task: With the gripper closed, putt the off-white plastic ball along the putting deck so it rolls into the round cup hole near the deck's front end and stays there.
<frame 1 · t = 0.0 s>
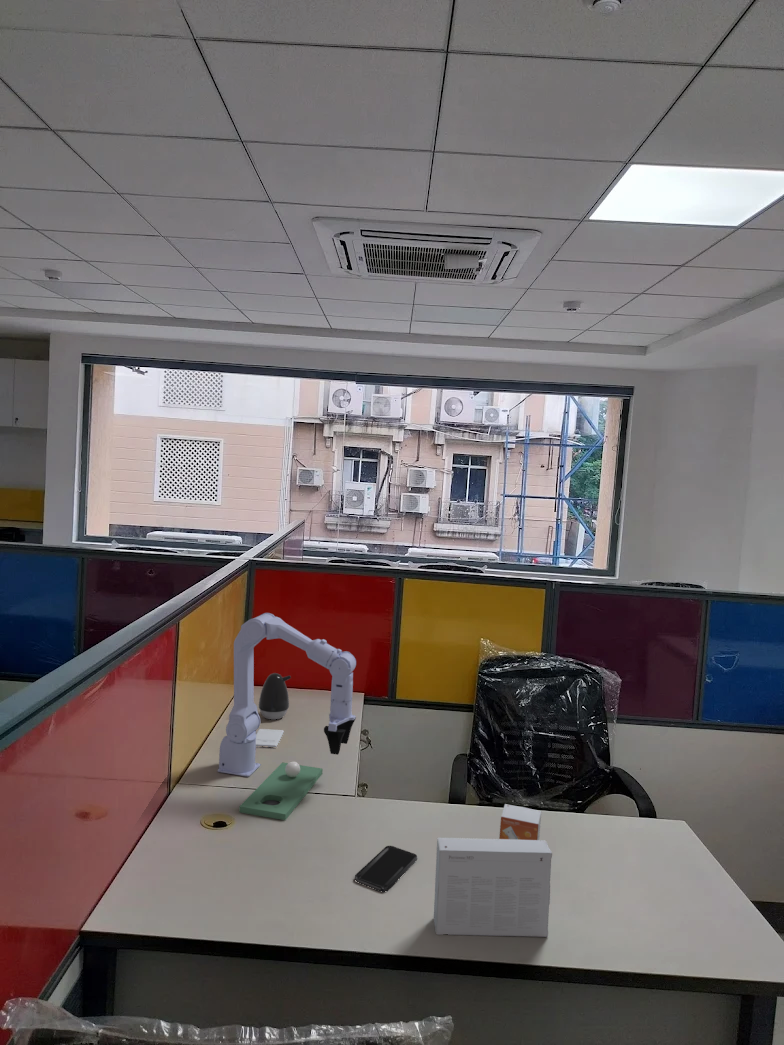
hand: (339, 748, 180), 10 cm above the table, tool pointing down, fingers open, 7 cm apart
pump dispenser: (273, 717, 228), on the table
ball: (292, 769, 180), point 3 cm above the table, touching putting deck
small box: (517, 872, 144), on the table
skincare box: (489, 927, 126), on the table
external hard drive: (267, 742, 208), on the table
phone: (386, 871, 142), on the table
putting deck: (283, 791, 175), on the table
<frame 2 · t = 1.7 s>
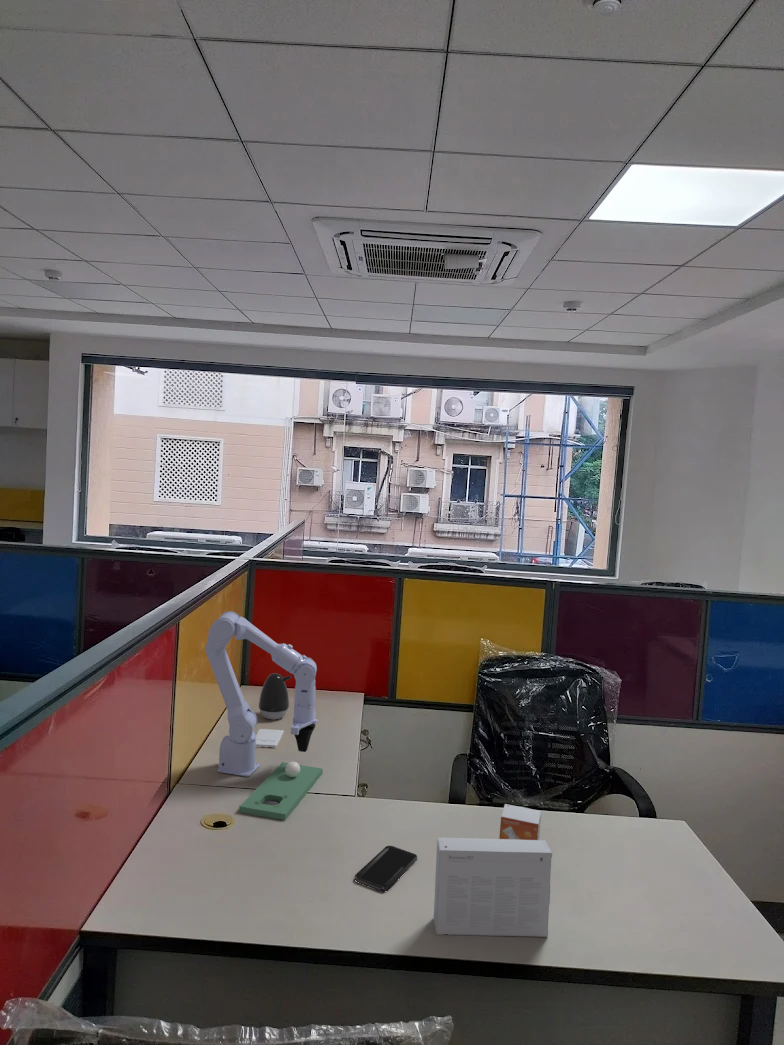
hand: (302, 750, 187), 6 cm above the table, tool pointing down, fingers closed
nothing on the table moved.
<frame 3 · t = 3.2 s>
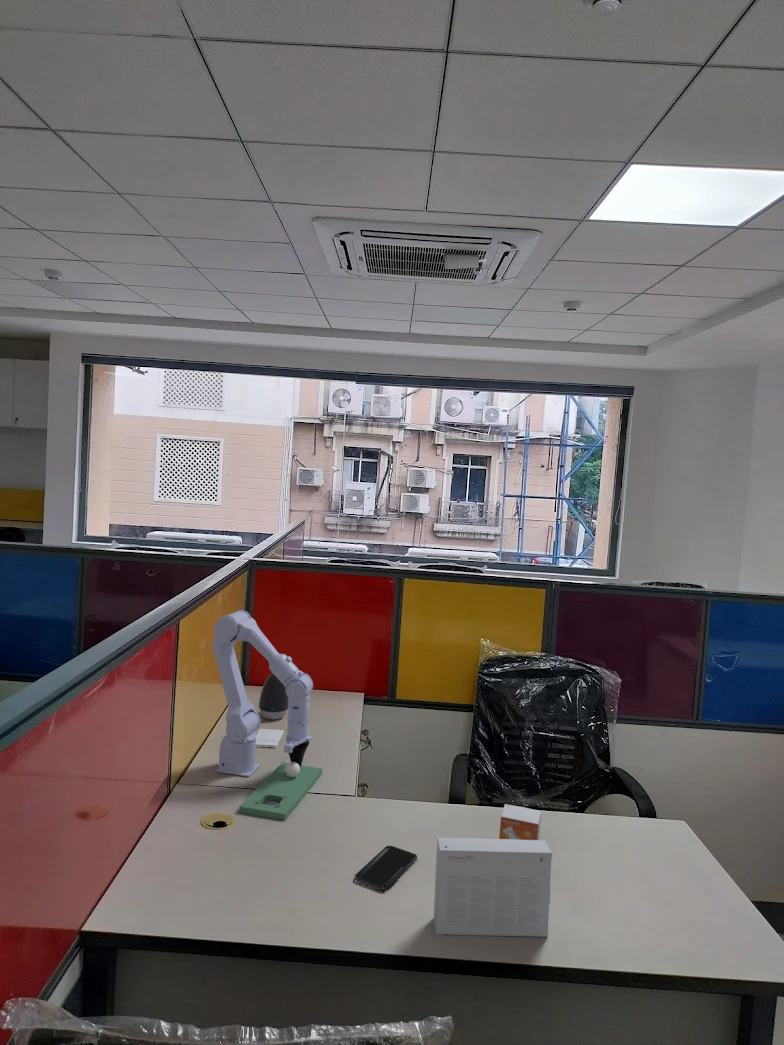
hand: (296, 768, 183), 3 cm above the table, tool pointing down, fingers closed, pressing on ball
ball: (292, 769, 180), point 3 cm above the table, touching gripper, putting deck
everything else where it was.
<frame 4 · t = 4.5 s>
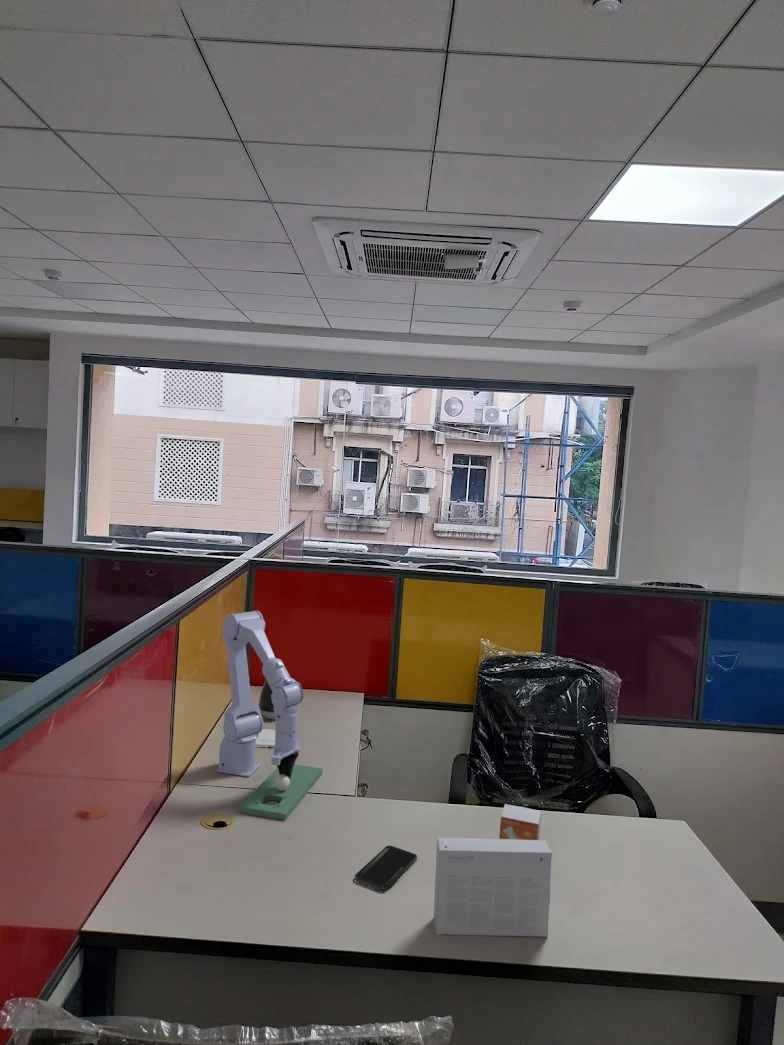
hand: (285, 781, 174), 3 cm above the table, tool pointing down, fingers closed, pressing on ball
ball: (282, 782, 172), point 3 cm above the table, tilted 124°, touching gripper, putting deck
everything else where it was.
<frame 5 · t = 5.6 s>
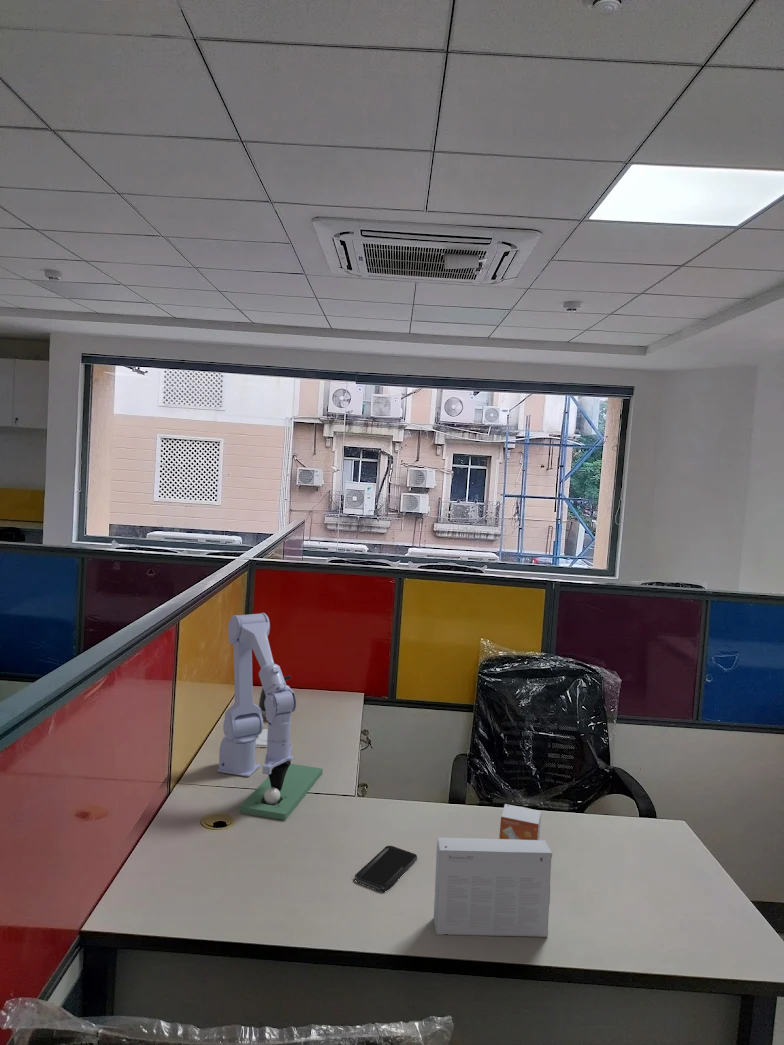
hand: (276, 790, 170), 3 cm above the table, tool pointing down, fingers closed
ball: (272, 795, 167), point 2 cm above the table, tilted 119°, touching gripper, putting deck
everything else where it was.
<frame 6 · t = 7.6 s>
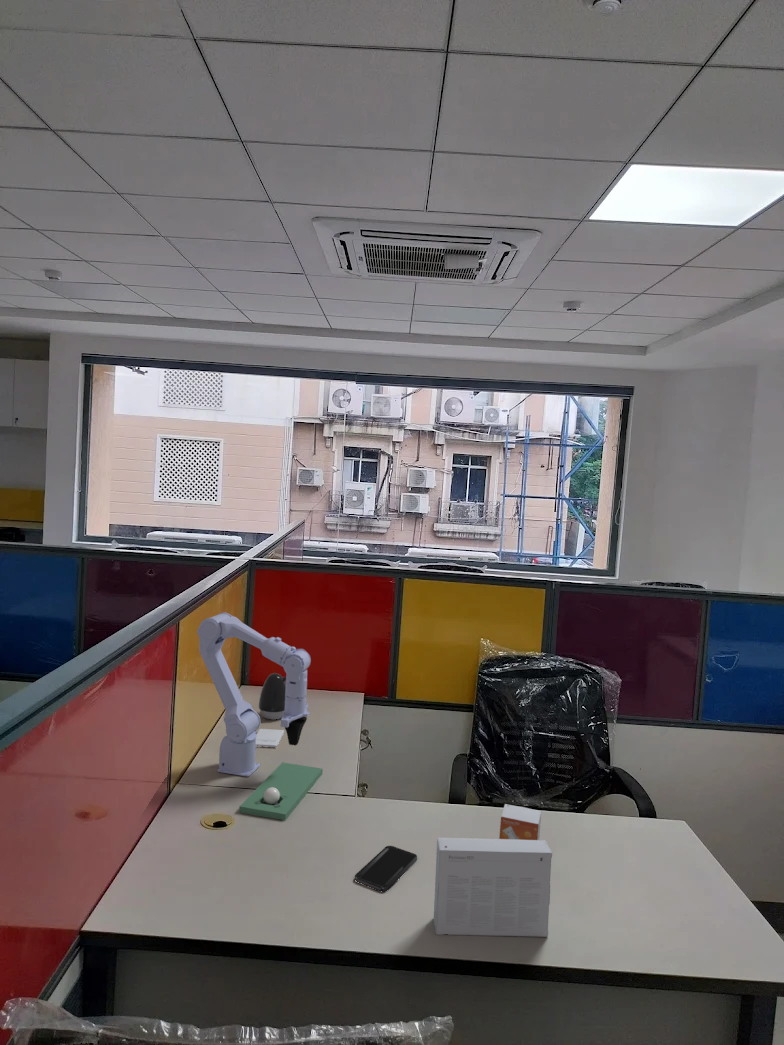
hand: (293, 744, 183), 9 cm above the table, tool pointing down, fingers closed
ball: (271, 795, 167), point 2 cm above the table, tilted 120°, touching putting deck
everything else where it was.
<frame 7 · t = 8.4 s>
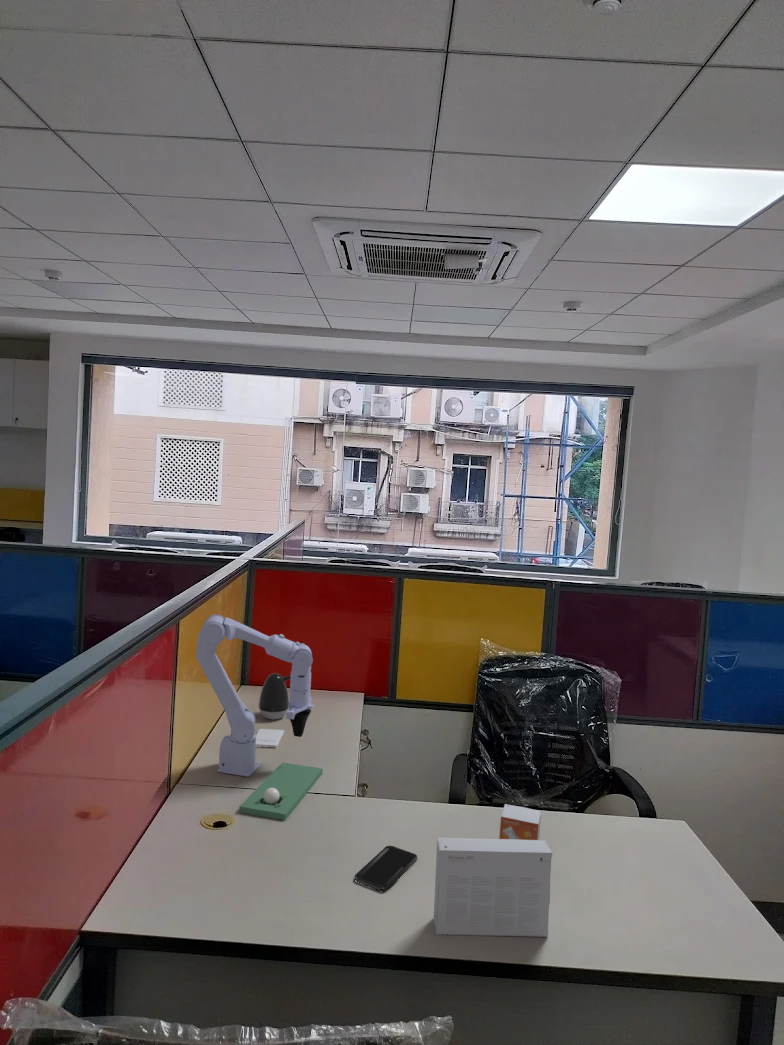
hand: (298, 735, 189), 9 cm above the table, tool pointing down, fingers closed
nothing on the table moved.
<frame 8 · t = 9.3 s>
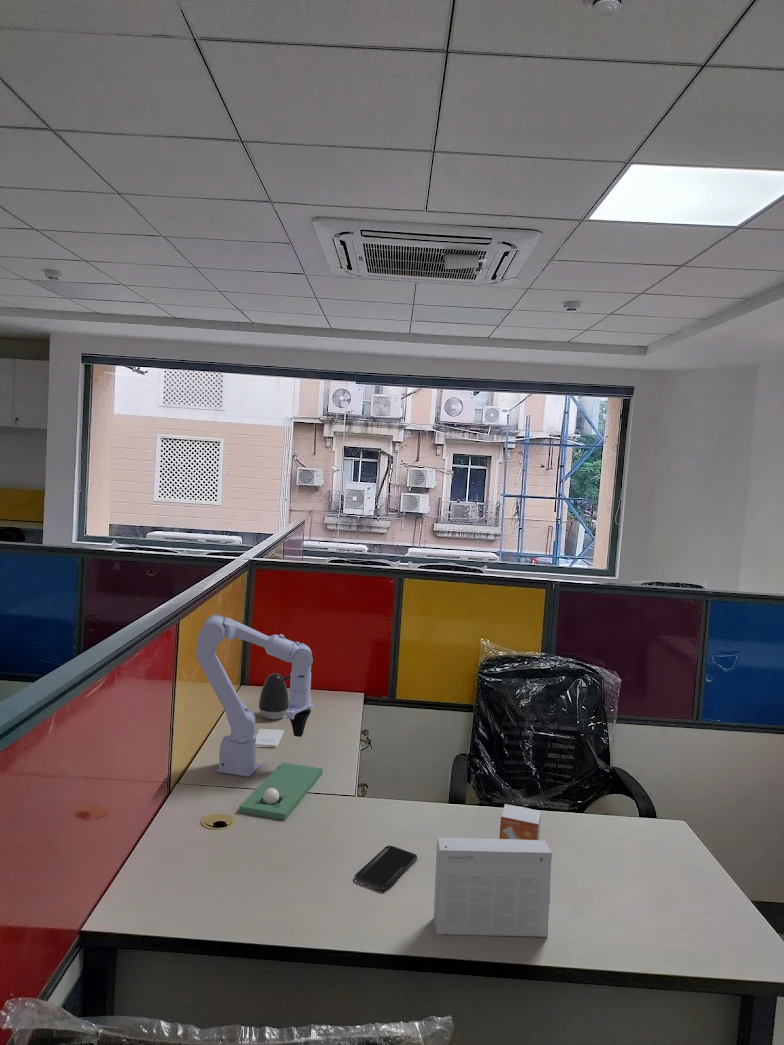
hand: (298, 735, 189), 9 cm above the table, tool pointing down, fingers closed
ball: (271, 796, 167), point 2 cm above the table, tilted 130°, touching putting deck
everything else where it was.
at the end: ball 0.2 cm from the target spot on the putting deck, point 2.3 cm above the putting deck's base; ball point 2.3 cm above the table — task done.
